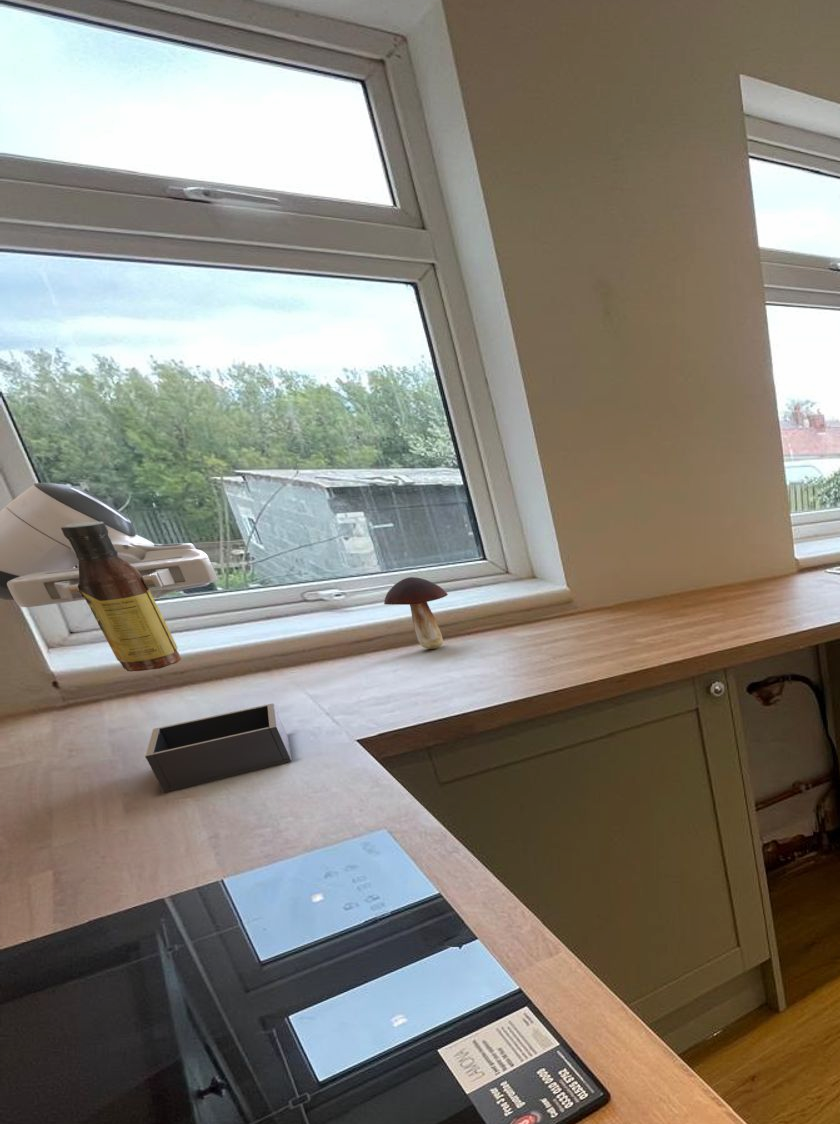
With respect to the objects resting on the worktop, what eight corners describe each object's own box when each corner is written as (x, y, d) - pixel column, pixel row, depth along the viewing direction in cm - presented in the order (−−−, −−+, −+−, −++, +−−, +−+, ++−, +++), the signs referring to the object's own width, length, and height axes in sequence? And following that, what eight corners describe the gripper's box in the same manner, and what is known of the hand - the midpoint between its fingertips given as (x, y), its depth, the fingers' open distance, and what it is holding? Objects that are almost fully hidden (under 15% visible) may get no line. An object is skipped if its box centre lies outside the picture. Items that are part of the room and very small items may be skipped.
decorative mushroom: (475, 642, 172) (452, 572, 166) (425, 658, 163) (399, 585, 157) (439, 639, 176) (416, 570, 170) (389, 654, 167) (362, 582, 160)
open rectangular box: (164, 793, 109) (145, 756, 107) (170, 763, 119) (152, 728, 117) (291, 761, 117) (276, 726, 115) (287, 735, 127) (273, 703, 125)
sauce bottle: (141, 662, 116) (71, 521, 108) (193, 656, 118) (129, 517, 110) (110, 676, 111) (35, 529, 103) (166, 670, 112) (96, 524, 104)
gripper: (7, 563, 111) (-15, 577, 102) (205, 541, 123) (202, 551, 114) (31, 608, 114) (12, 626, 104) (223, 581, 126) (221, 595, 116)
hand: (113, 587), depth 109 cm, fingers closed on sauce bottle, 6 cm apart
